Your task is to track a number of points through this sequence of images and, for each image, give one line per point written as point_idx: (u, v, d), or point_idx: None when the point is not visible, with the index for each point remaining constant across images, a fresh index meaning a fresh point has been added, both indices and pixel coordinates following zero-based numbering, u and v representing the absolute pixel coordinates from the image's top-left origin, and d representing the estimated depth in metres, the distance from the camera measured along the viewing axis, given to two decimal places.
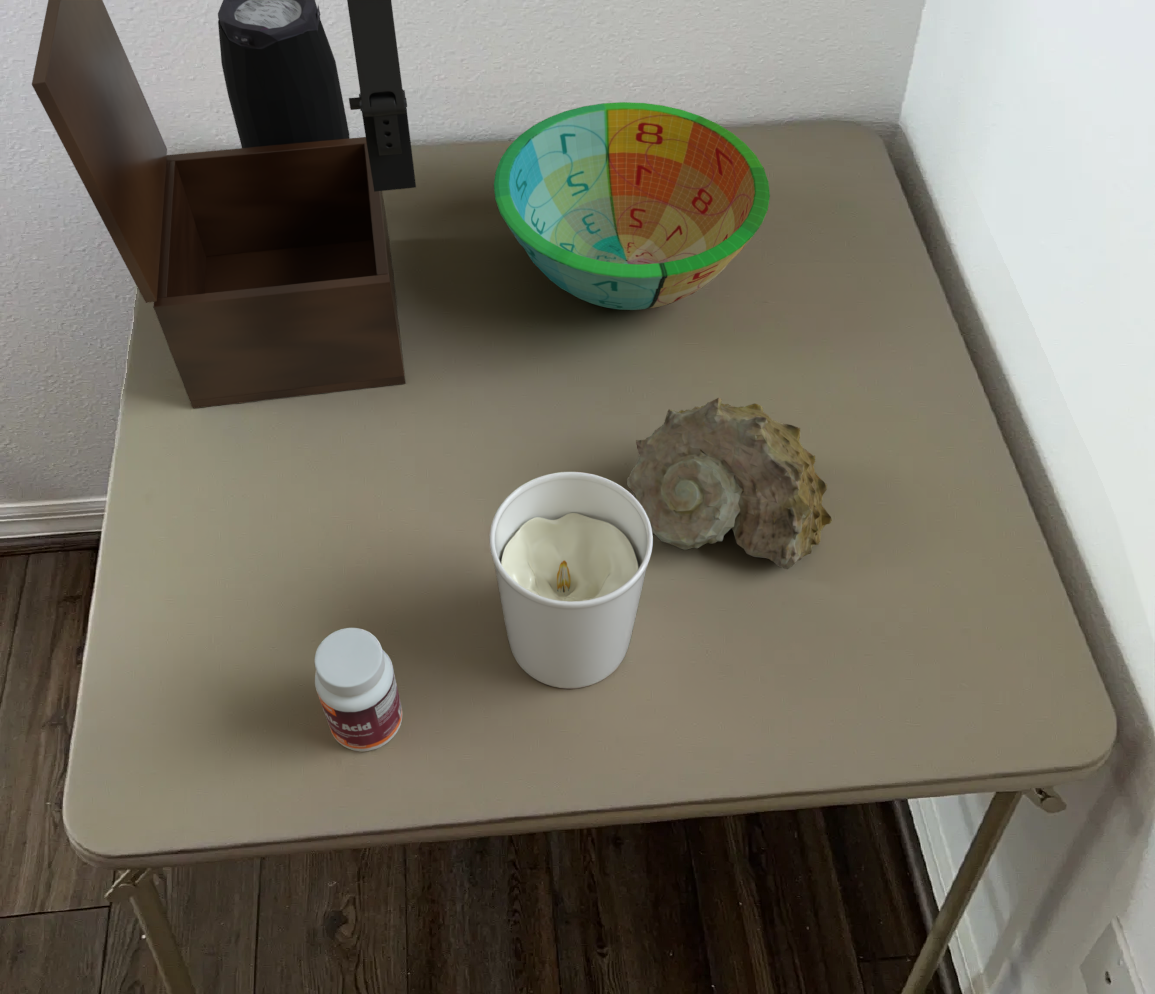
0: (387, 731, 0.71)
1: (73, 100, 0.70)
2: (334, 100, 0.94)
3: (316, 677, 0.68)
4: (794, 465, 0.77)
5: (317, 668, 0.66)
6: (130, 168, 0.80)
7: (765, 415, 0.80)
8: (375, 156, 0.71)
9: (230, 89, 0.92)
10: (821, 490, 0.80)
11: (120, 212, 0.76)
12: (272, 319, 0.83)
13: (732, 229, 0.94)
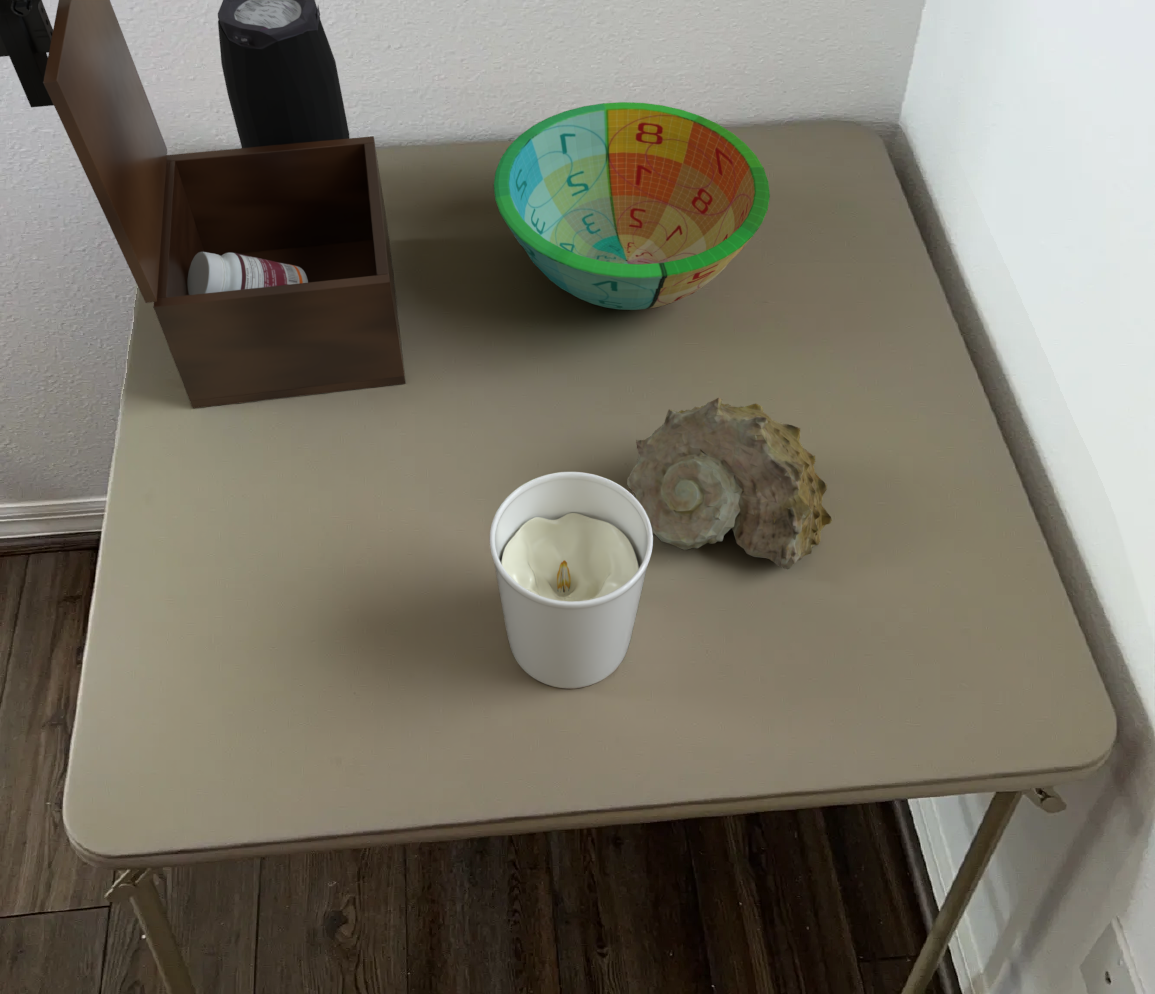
0: None
1: (82, 99, 0.70)
2: (334, 100, 0.94)
3: None
4: (794, 465, 0.77)
5: None
6: (133, 168, 0.80)
7: (765, 415, 0.80)
8: None
9: (230, 89, 0.92)
10: (821, 490, 0.80)
11: (124, 212, 0.76)
12: (272, 319, 0.83)
13: (732, 229, 0.94)
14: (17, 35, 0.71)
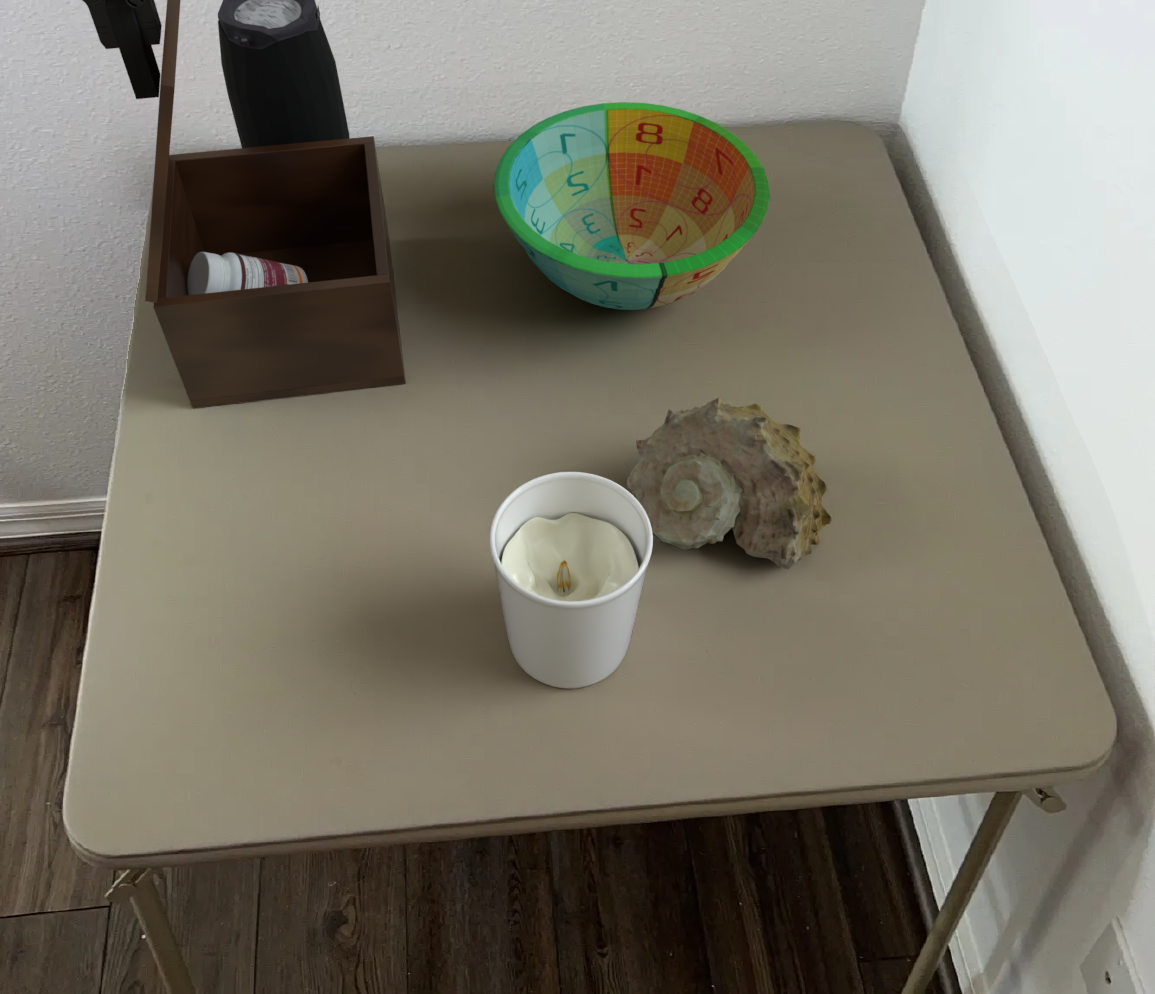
0: None
1: None
2: (334, 100, 0.94)
3: None
4: (794, 465, 0.77)
5: None
6: None
7: (765, 415, 0.80)
8: None
9: (230, 89, 0.92)
10: (821, 490, 0.80)
11: None
12: (272, 319, 0.83)
13: (732, 229, 0.94)
14: (128, 27, 0.72)
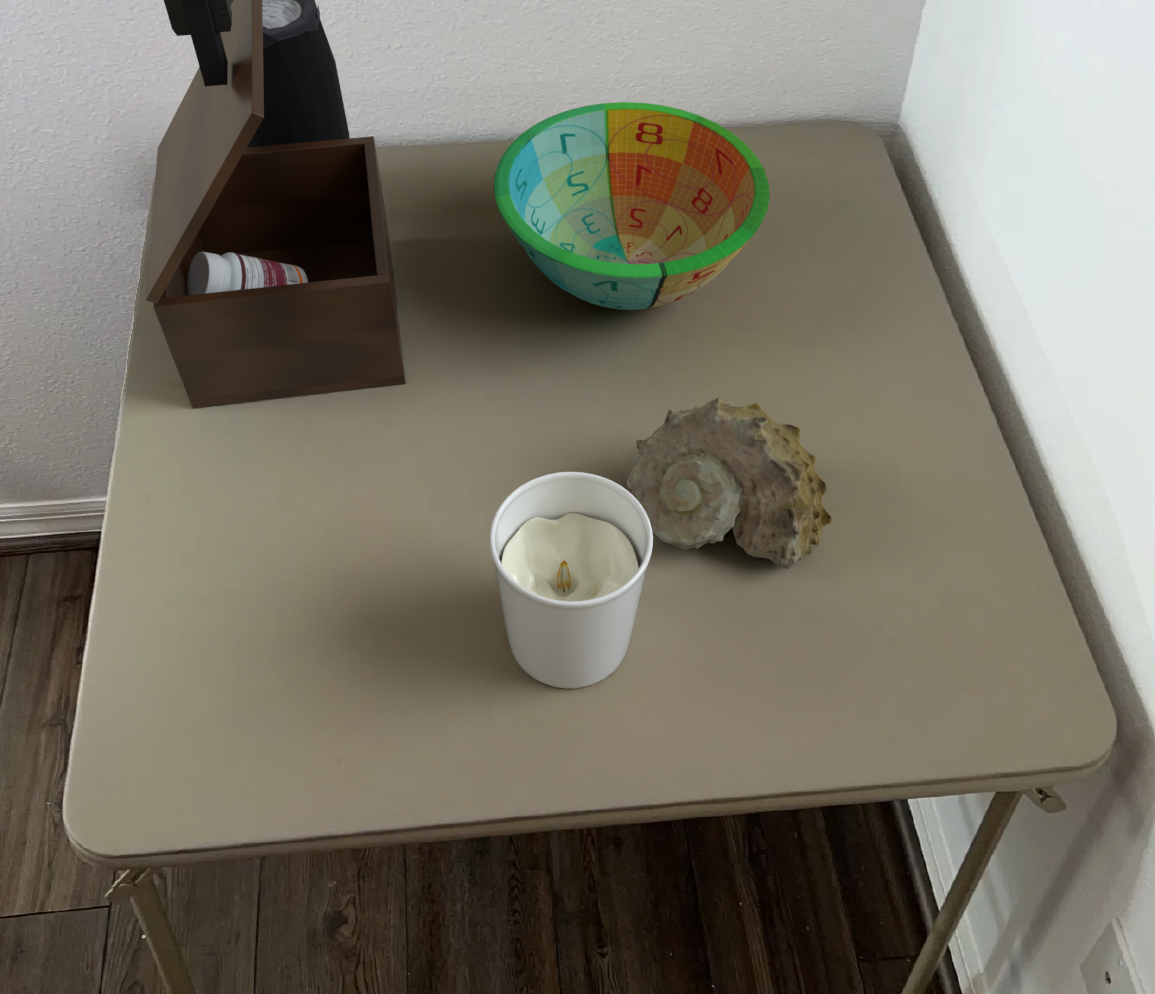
0: None
1: None
2: (334, 100, 0.94)
3: None
4: (794, 465, 0.77)
5: None
6: None
7: (765, 415, 0.80)
8: None
9: None
10: (821, 490, 0.80)
11: None
12: (272, 319, 0.83)
13: (732, 229, 0.94)
14: (201, 14, 0.72)
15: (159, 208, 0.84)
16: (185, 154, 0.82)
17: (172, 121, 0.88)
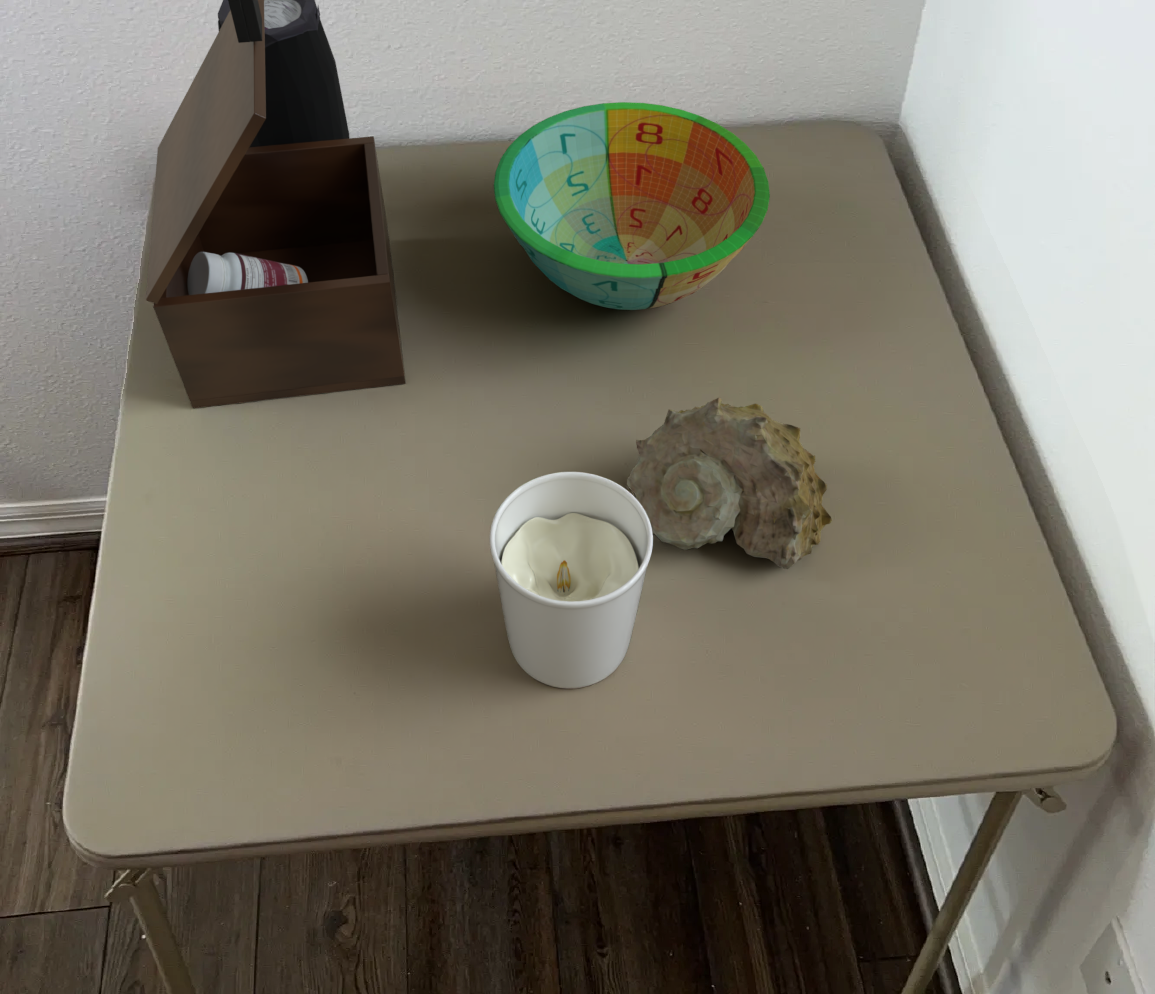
0: None
1: None
2: (334, 100, 0.94)
3: None
4: (794, 465, 0.77)
5: None
6: None
7: (765, 415, 0.80)
8: None
9: None
10: (821, 490, 0.80)
11: None
12: (272, 319, 0.83)
13: (732, 229, 0.94)
14: None
15: (159, 208, 0.84)
16: (186, 154, 0.82)
17: (172, 121, 0.88)
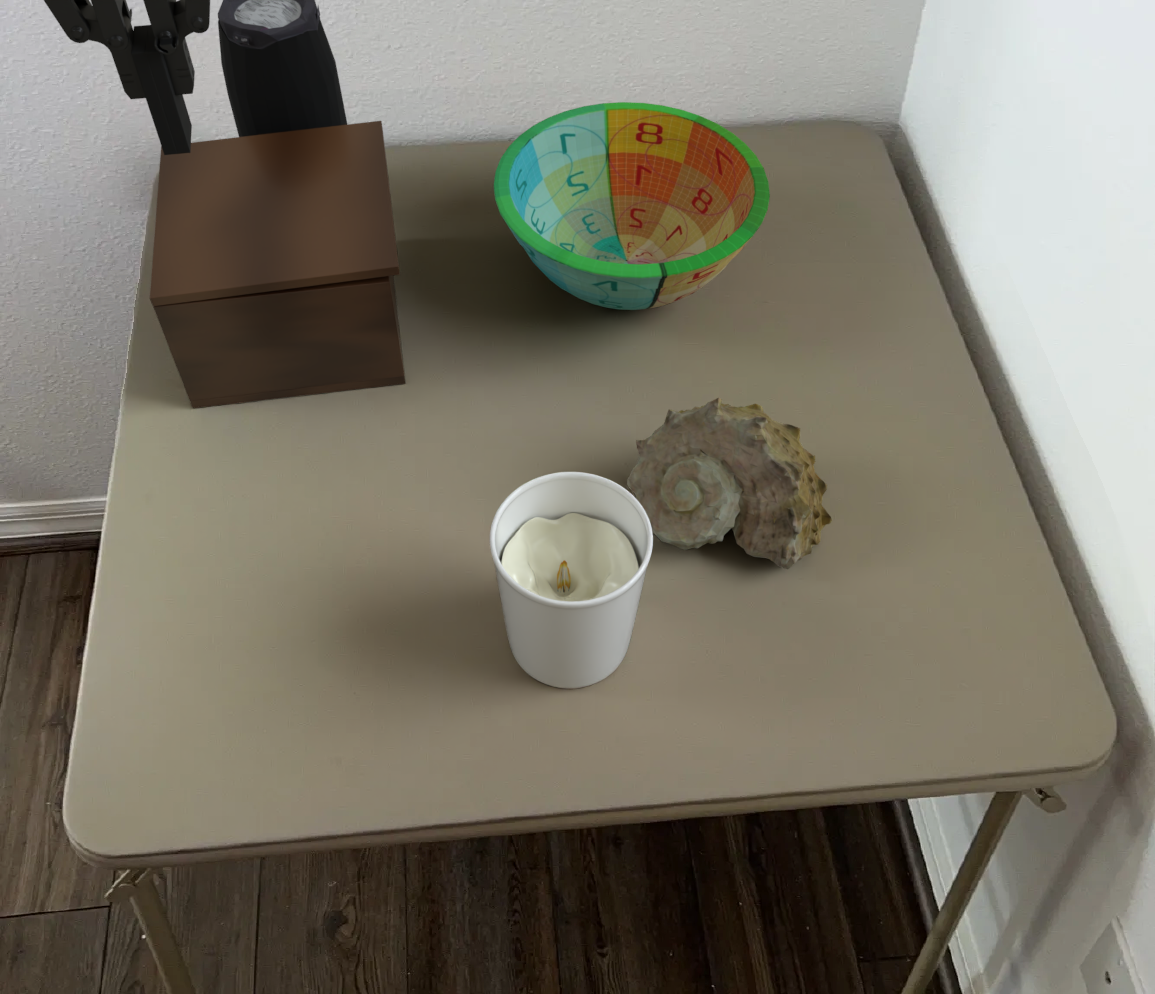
0: None
1: None
2: (334, 100, 0.94)
3: None
4: (794, 465, 0.77)
5: None
6: None
7: (765, 415, 0.80)
8: None
9: (230, 89, 0.92)
10: (821, 490, 0.80)
11: None
12: (272, 319, 0.83)
13: (732, 229, 0.94)
14: (157, 75, 0.62)
15: (176, 218, 0.85)
16: (241, 204, 0.86)
17: (200, 144, 0.90)
